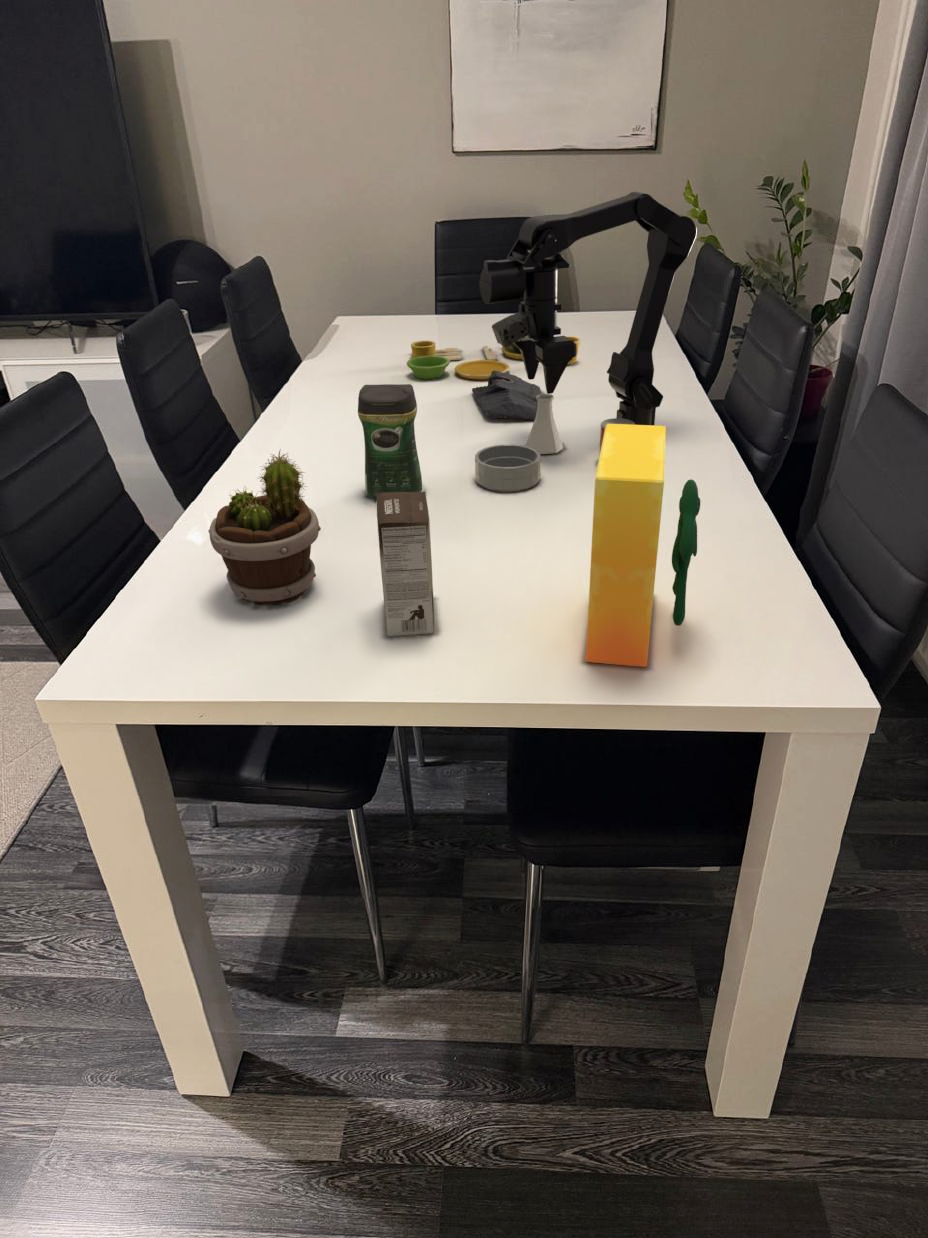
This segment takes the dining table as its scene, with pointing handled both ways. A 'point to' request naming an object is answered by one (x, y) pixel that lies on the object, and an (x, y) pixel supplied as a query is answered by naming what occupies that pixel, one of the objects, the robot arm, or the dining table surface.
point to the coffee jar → (389, 438)
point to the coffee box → (406, 562)
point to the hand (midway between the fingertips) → (540, 386)
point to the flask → (544, 428)
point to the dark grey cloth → (508, 397)
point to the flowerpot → (268, 538)
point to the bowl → (507, 467)
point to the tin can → (612, 421)
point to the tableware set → (434, 364)
